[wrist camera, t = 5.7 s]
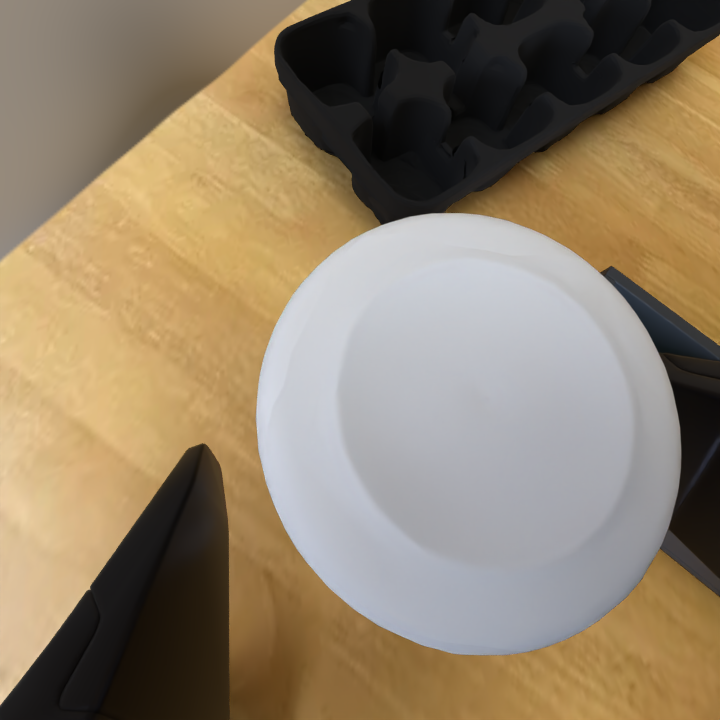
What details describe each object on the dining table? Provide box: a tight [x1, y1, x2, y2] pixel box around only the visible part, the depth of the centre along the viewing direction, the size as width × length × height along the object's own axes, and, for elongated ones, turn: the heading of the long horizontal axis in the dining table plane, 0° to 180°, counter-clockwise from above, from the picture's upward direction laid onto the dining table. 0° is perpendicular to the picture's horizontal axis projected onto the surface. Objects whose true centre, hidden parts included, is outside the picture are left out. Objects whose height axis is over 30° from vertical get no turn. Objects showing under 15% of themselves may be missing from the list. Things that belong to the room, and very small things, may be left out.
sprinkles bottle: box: [256, 213, 681, 655], centre depth 10 cm, size 5×5×13 cm
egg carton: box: [274, 0, 720, 225], centre depth 21 cm, size 18×30×4 cm, turn 139°
